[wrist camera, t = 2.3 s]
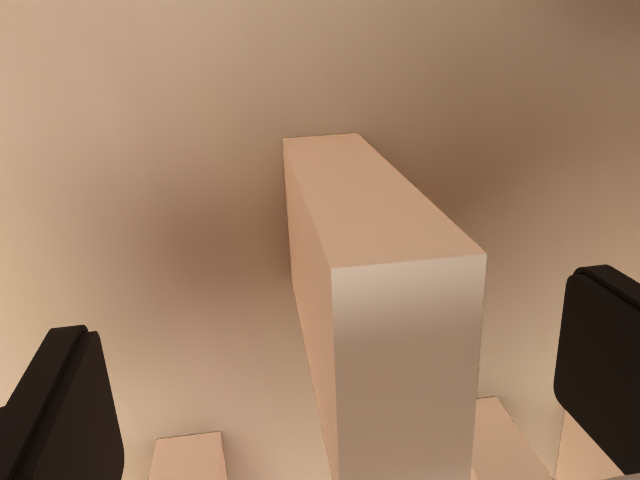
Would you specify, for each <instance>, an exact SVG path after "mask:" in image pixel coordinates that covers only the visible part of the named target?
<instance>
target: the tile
mask: <svg viewBox="0 0 640 480" xmlns="http://www.w3.org/2000/svg"><path fill="white" fill-rule="evenodd" d="M282 144H283V158H284V173H285V188H286V202H287V217H288V231H289V246H290V261H291V275H292V284H293V289H294V294H295V299H296V304H297V309H298V314H299V319H300V324H301V328H302V333H303V338H304V343H305V348H306V353H307V358H308V363H309V368H310V372H311V377H312V382H313V387H314V392H315V397H316V402H317V407H318V412H319V417H320V421H321V426H322V431H323V436H324V441H325V446H326V451H327V456H328V461H329V465H330V470H331V475H332V480H470V478H471V465H472V452H473V438H474V425H475V412H476V398H477V385H478V372H479V359H480V345H481V332H482V319H483V305H484V292H485V279H486V266H487V253H486V252H485V251H484V250H483V249H482V248H481V247H480V246H479V245H477V244H476V243H475V242H474V241H473V240H472V239H471V238H470V237H469V236H468V235H467V234H466V233H465V232H463V231H462V230H461V229H460V228H459V227H458V226H457V225H456V224H455V223H454V222H453V221H452V220H450V219H449V218H448V217H447V216H446V215H445V214H444V213H443V212H442V211H441V210H440V209H439V208H438V207H436V206H435V205H434V204H433V203H432V202H431V201H430V200H429V199H428V198H427V197H426V196H425V195H424V194H422V193H421V192H420V191H419V190H418V189H417V188H416V187H415V186H414V185H413V184H412V183H411V182H410V181H408V180H407V179H406V178H405V177H404V176H403V175H402V174H401V173H400V172H399V171H398V170H397V169H395V168H394V167H393V166H392V165H391V164H390V163H389V162H388V161H387V160H386V159H385V158H384V157H383V156H381V155H380V154H379V153H378V152H377V151H376V150H375V149H374V148H373V147H372V146H371V145H370V144H369V143H367V142H366V141H365V140H364V139H363V138H362V137H361V136H360V135H359V134H358V133H351V134H337V135H322V136H308V137H294V138H282Z"/></svg>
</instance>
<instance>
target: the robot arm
mask: <svg viewBox="0 0 640 480" xmlns="http://www.w3.org/2000/svg"><path fill="white" fill-rule="evenodd" d="M554 393H555V396H556V398H557V400H558V402H559V403H560V404H561V405H562V407H563V408H564V409H565V410H566V411H567V412H568V413H569V414H570V415H571V416H572V417H573V419H574V420H575V421H576V422H577V423H578V424H579V425H580V426H581V427H582V428H583V430H584V431H585V432H586V433H587V434H588V435H589V436H590V437H591V438H592V439H593V441H594V442H595V443H596V444H597V445H598V446H599V447H600V448H601V449H602V450H603V452H604V453H605V454H606V455H607V456H608V457H609V458H610V459H611V460H612V461H613V463H614V464H615V465H616V466H617V467H618V468H619V469H620V470H621V471H622V472H623V474H624V476H619V477H613V478H607V479H601V480H640V283H638V282H636V281H635V280H633V279H631V278H630V277H628V276H626V275H625V274H623V273H621V272H620V271H618V270H616V269H615V268H613V267H611V266H609V265H606V264H605V265H597V266H588V267H579V268H578V269H576V270H575V272H574V273H573V275H571V276H570V277H569V278H568V279H567V283H566V289H565V297H564V305H563V313H562V321H561V329H560V337H559V344H558V352H557V360H556V368H555V376H554ZM123 468H124V448H123V443H122V438H121V434H120V429H119V424H118V420H117V415H116V410H115V406H114V401H113V396H112V392H111V387H110V382H109V378H108V373H107V368H106V364H105V359H104V355H103V350H102V345H101V341H100V337H99V334H98V332H97V331H92V332H88V329H87V327H86V326H85V325H77V326H68V327H60V328H51V329H50V330H49V332H48V333H47V335H46V337H45V338H44V340H43V342H42V344H41V345H40V347H39V349H38V350H37V352H36V354H35V356H34V357H33V359H32V361H31V362H30V364H29V366H28V368H27V369H26V371H25V373H24V374H23V376H22V378H21V380H20V381H19V383H18V385H17V386H16V388H15V390H14V392H13V393H12V395H11V397H10V398H9V400H8V402H7V404H6V405H5V406H3V407H1V408H0V480H121V478H122V473H123Z"/></svg>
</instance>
